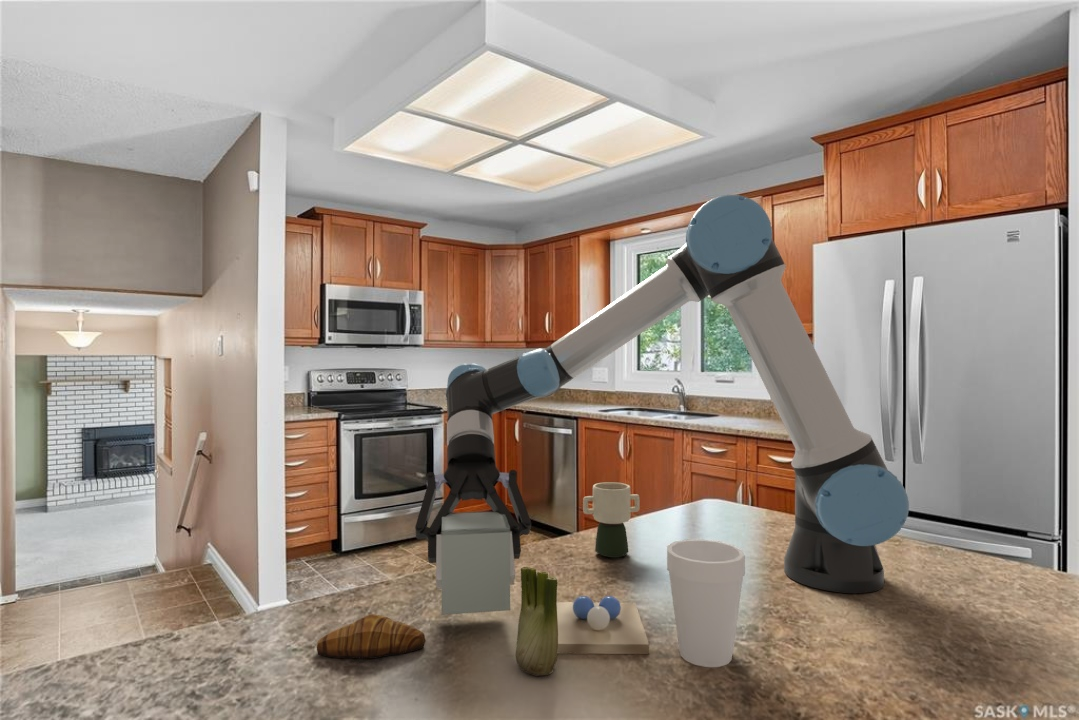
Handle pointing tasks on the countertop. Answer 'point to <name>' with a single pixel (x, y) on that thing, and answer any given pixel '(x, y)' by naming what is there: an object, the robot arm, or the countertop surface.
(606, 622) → the marble white
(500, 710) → the countertop surface
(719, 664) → the foam cup
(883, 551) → the countertop surface
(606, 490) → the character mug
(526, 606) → the fennel bulb
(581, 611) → the blue marble
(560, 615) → the board
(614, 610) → the blue marble
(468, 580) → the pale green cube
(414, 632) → the croissant
